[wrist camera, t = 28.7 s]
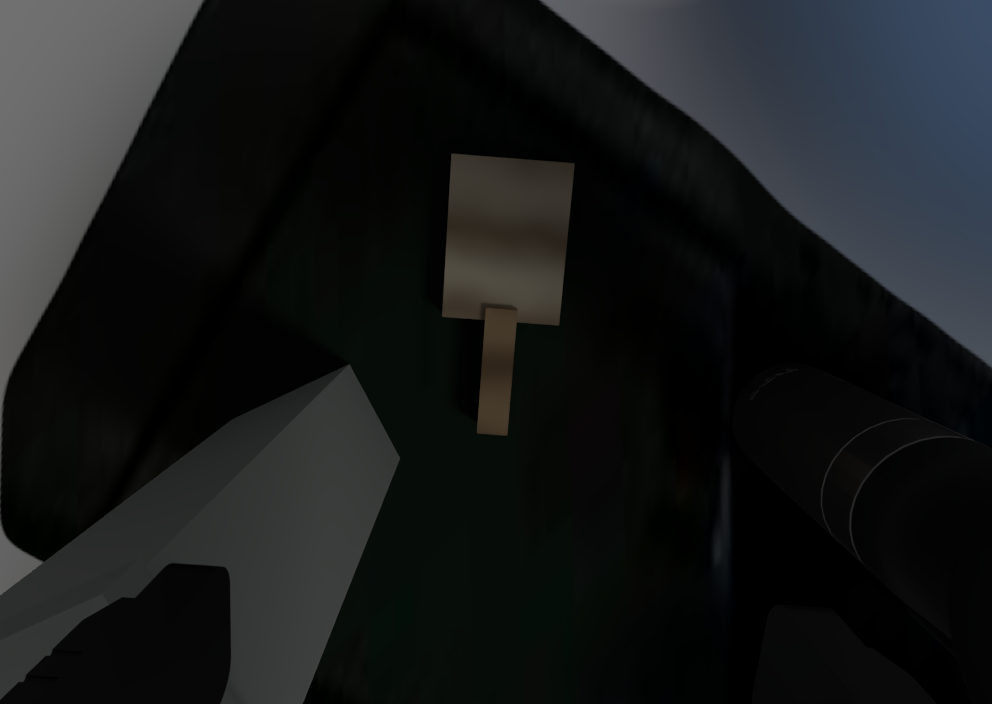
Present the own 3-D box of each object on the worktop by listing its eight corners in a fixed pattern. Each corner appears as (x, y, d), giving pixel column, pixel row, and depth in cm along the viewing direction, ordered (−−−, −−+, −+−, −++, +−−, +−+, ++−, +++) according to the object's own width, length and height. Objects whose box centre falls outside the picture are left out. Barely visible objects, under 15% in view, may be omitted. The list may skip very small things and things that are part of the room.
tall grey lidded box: (407, 460, 51) (271, 841, 20) (283, 516, 52) (-33, 962, 21) (351, 356, 49) (101, 594, 18) (223, 416, 50) (-224, 741, 19)
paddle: (545, 428, 50) (548, 438, 48) (438, 420, 50) (435, 430, 48) (571, 166, 46) (575, 162, 44) (453, 156, 46) (451, 152, 44)
